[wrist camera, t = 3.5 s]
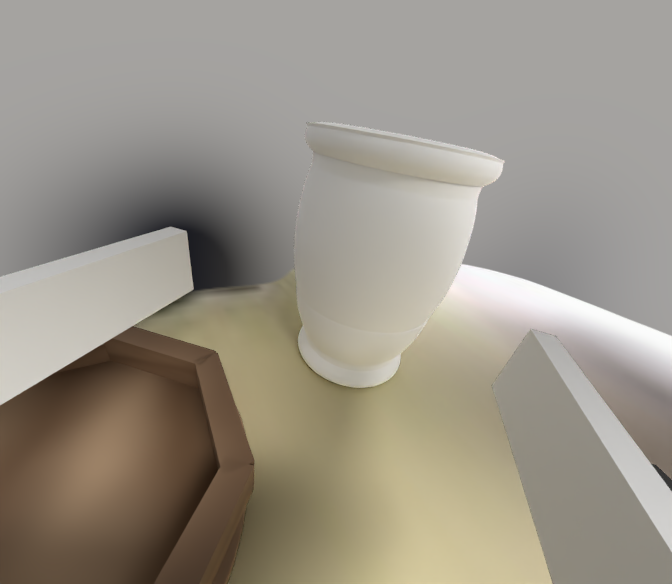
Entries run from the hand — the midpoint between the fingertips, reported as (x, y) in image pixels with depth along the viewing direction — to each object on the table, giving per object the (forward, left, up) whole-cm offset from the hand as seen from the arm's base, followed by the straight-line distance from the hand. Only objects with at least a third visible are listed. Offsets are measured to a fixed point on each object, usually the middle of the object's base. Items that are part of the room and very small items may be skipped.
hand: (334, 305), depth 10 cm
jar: (-6, -5, -9) cm, 12 cm away
